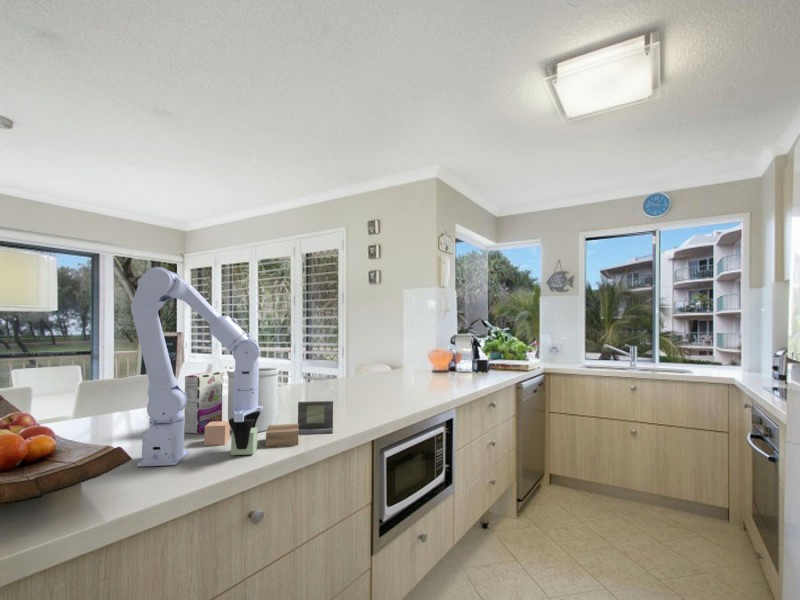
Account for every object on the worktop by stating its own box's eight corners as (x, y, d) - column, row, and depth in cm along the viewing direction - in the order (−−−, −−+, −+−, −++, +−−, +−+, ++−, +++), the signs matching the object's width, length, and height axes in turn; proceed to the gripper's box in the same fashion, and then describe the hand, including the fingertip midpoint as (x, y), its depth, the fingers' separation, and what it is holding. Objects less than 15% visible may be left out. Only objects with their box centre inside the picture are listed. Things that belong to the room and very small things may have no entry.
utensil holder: (217, 427, 124) (219, 368, 125) (263, 419, 135) (265, 365, 136) (238, 437, 114) (240, 373, 115) (287, 427, 124) (288, 369, 125)
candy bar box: (208, 424, 128) (209, 370, 129) (222, 424, 127) (223, 371, 128) (182, 433, 117) (184, 375, 118) (197, 434, 116) (199, 375, 117)
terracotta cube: (224, 445, 107) (225, 425, 107) (204, 446, 106) (204, 426, 106) (229, 439, 111) (230, 421, 112) (209, 440, 111) (210, 421, 111)
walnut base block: (298, 446, 106) (298, 430, 106) (265, 448, 104) (266, 432, 105) (298, 438, 114) (298, 423, 114) (268, 440, 112) (268, 425, 112)
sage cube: (253, 454, 98) (253, 432, 98) (230, 455, 97) (231, 433, 98) (257, 447, 103) (257, 427, 103) (236, 448, 102) (236, 428, 102)
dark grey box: (332, 433, 118) (333, 403, 119) (296, 434, 117) (297, 404, 117) (332, 428, 124) (333, 399, 124) (298, 429, 122) (299, 400, 123)
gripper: (257, 393, 94) (255, 454, 94) (267, 384, 109) (266, 436, 108) (225, 394, 93) (223, 455, 93) (239, 384, 108) (238, 437, 107)
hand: (244, 445), depth 100 cm, fingers closed on sage cube, 5 cm apart
